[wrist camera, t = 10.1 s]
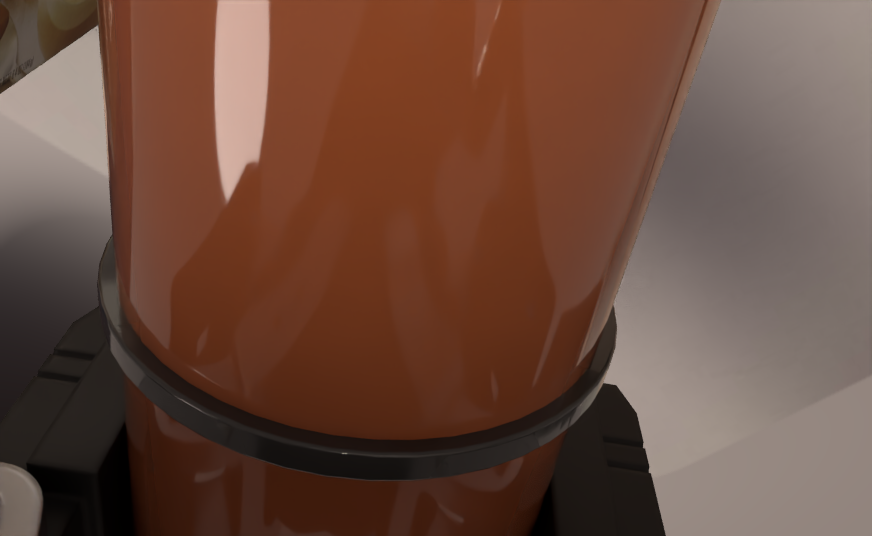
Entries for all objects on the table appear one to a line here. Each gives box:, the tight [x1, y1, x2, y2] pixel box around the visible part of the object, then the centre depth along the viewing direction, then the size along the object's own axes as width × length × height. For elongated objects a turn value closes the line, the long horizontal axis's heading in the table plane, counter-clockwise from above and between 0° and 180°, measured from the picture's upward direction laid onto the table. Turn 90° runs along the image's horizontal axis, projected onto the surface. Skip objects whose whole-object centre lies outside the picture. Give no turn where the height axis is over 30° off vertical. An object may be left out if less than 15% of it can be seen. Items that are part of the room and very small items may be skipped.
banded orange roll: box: [97, 0, 721, 536], centre depth 9 cm, size 5×16×5 cm, turn 171°
